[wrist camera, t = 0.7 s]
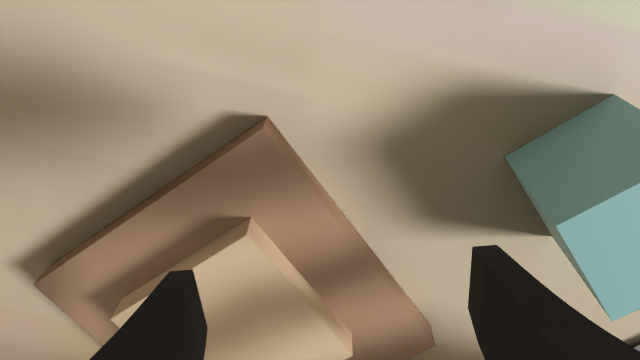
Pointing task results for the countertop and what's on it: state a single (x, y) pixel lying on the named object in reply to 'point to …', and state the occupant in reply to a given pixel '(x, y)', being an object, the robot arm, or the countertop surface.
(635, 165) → the teal block
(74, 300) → the walnut stand
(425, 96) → the countertop surface
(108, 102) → the countertop surface
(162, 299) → the robot arm
